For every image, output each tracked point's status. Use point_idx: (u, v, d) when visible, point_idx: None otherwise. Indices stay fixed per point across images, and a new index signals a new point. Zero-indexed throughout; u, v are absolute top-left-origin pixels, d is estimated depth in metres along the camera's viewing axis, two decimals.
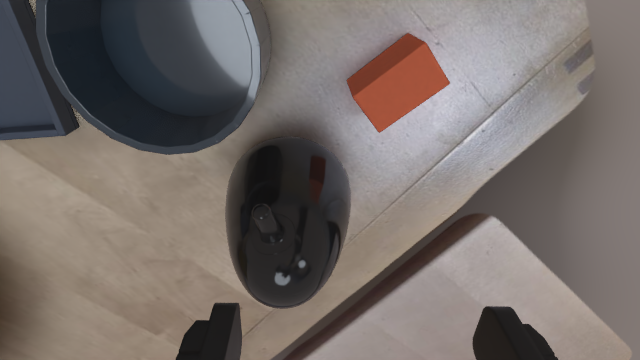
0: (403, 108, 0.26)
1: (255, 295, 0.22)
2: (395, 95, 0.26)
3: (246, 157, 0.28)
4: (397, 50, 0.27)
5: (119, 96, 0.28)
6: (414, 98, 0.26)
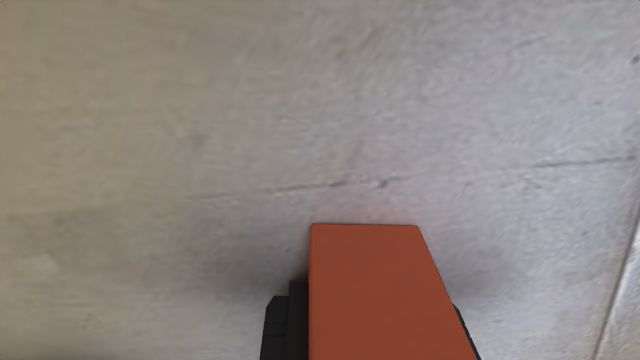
0: None
1: None
2: None
3: None
4: None
5: None
6: None
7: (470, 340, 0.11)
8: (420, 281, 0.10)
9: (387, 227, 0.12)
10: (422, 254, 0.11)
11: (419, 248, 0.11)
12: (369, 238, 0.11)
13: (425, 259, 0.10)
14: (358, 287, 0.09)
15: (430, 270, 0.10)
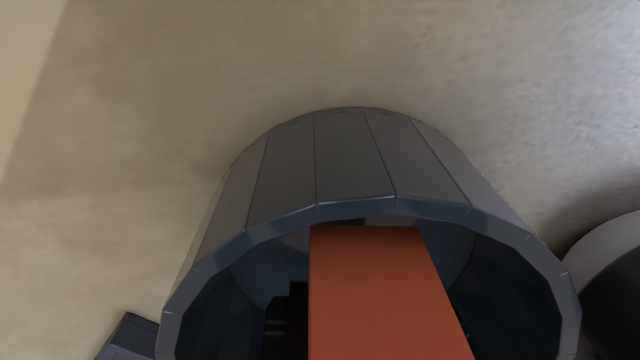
0: None
1: None
2: None
3: (587, 342, 0.14)
4: (308, 317, 0.10)
5: None
6: None
7: (470, 340, 0.11)
8: (419, 282, 0.10)
9: (386, 228, 0.12)
10: (421, 255, 0.11)
11: (418, 249, 0.11)
12: (368, 239, 0.11)
13: (424, 260, 0.10)
14: (357, 287, 0.09)
15: (429, 270, 0.10)
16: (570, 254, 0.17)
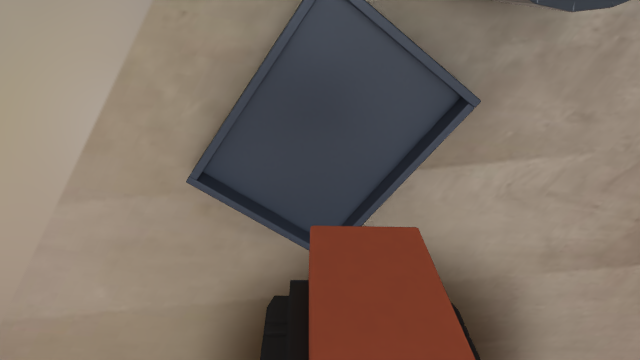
0: None
1: None
2: None
3: None
4: None
5: None
6: None
7: (469, 340, 0.11)
8: (420, 283, 0.10)
9: (387, 229, 0.12)
10: (422, 256, 0.11)
11: (419, 250, 0.11)
12: (369, 240, 0.11)
13: (425, 261, 0.10)
14: (358, 289, 0.09)
15: (429, 271, 0.10)
16: None
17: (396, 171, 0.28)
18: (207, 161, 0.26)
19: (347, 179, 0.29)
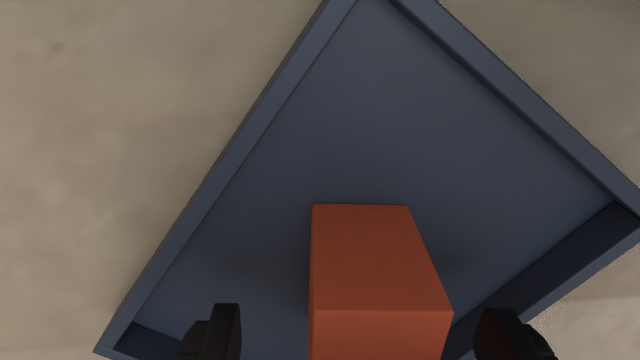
0: None
1: None
2: None
3: None
4: None
5: None
6: None
7: None
8: (406, 248, 0.11)
9: (379, 206, 0.13)
10: (409, 227, 0.12)
11: (407, 222, 0.12)
12: (363, 215, 0.13)
13: (412, 231, 0.12)
14: (354, 252, 0.11)
15: (415, 239, 0.12)
16: None
17: (478, 321, 0.16)
18: (128, 322, 0.14)
19: None
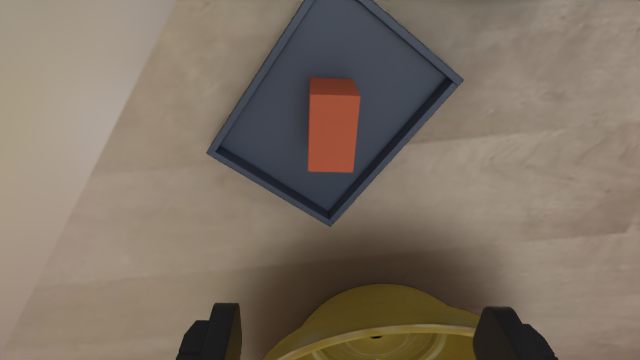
0: (348, 143, 0.27)
1: None
2: (332, 142, 0.27)
3: None
4: None
5: None
6: (348, 130, 0.27)
7: None
8: (348, 86, 0.27)
9: None
10: (351, 83, 0.28)
11: (350, 82, 0.29)
12: (332, 80, 0.29)
13: (352, 83, 0.28)
14: (326, 86, 0.27)
15: (352, 85, 0.28)
16: None
17: (391, 144, 0.32)
18: (225, 134, 0.30)
19: None
